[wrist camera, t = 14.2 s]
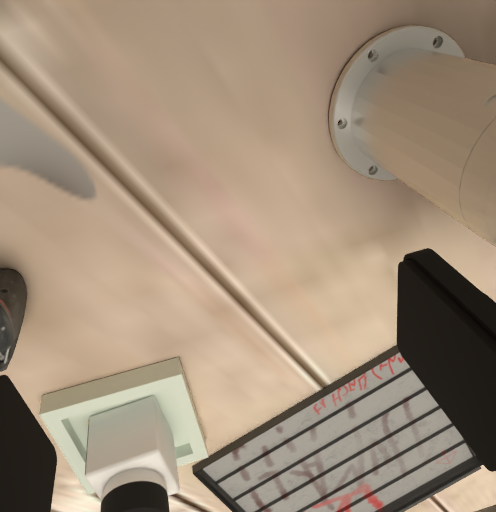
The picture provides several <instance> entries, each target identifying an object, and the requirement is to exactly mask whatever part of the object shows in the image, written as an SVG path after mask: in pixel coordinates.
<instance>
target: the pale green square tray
mask: <svg viewBox="0 0 496 512" xmlns="http://www.w3.org/2000/svg"><path fill="white" fill-rule="evenodd" d="M151 396H154V397H155V398H156V400H157V402H158V405H159V407H160V409H161V411H162V413H163V415H164V417H165V419H166V421H167V423H168V425H169V427H170V429H171V431H172V434H173V437H174V445H175V454H176V462H177V467H179V466H182V465H185V464H189V463H192V462H195V461H198V460H202V459H205V458H208V452H207V446H206V441H205V437H204V434H203V431H202V428H201V425H200V421H199V418H198V415H197V412H196V409H195V406H194V403H193V400H192V396H191V393H190V390H189V387H188V384H187V381H186V378H185V375H184V371H183V368H182V365H181V362H180V359H179V357H177V358H173V359H170V360H166V361H163V362H159V363H155V364H152V365H148V366H145V367H141V368H138V369H134V370H130V371H127V372H123V373H120V374H116V375H113V376H109V377H106V378H102V379H98V380H95V381H91V382H88V383H84V384H81V385H77V386H73V387H70V388H66V389H63V390H59V391H56V392H52V393H48V394H45V395H43V396H42V401H41V407H40V412H39V416H40V417H41V419H42V420H43V422H44V424H45V425H46V427H47V429H48V430H49V432H50V434H51V435H52V437H53V439H54V440H55V442H56V443H57V445H58V447H59V448H60V450H61V452H62V453H63V455H64V457H65V458H66V460H67V462H68V463H69V465H70V466H71V468H72V470H73V471H74V473H75V475H76V476H77V478H78V480H79V481H80V483H81V485H82V486H83V488H84V489H85V491H86V493H87V494H88V495H89V494H92V493H95V491H94V489H93V488H92V487H91V485H90V484H89V482H88V481H87V480H86V478H85V465H86V451H87V437H88V423H89V418H90V417H91V416H94V415H97V414H100V413H103V412H106V411H109V410H112V409H115V408H118V407H121V406H124V405H127V404H130V403H133V402H136V401H139V400H142V399H145V398H148V397H151Z"/></svg>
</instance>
